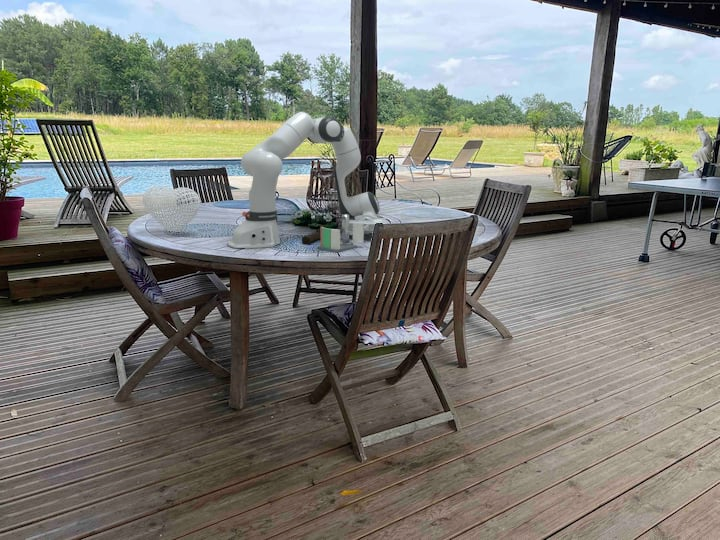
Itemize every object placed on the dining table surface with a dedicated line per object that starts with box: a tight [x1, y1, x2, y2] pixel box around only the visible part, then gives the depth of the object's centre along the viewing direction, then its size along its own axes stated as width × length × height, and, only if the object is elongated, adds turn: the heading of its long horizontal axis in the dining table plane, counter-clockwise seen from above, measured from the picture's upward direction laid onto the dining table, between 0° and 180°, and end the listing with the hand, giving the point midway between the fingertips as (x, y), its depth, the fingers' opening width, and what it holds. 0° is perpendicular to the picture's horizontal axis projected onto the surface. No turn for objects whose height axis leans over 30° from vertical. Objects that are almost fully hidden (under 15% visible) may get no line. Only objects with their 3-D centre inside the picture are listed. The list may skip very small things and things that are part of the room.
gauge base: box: [316, 226, 358, 254], centre depth 212 cm, size 15×11×9 cm
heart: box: [142, 185, 201, 233], centre depth 233 cm, size 28×16×22 cm, turn 65°
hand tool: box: [301, 228, 321, 245], centre depth 226 cm, size 19×4×5 cm, turn 157°
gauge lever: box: [336, 214, 365, 244], centre depth 208 cm, size 15×9×12 cm, turn 169°
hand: (361, 228), depth 221 cm, fingers closed
